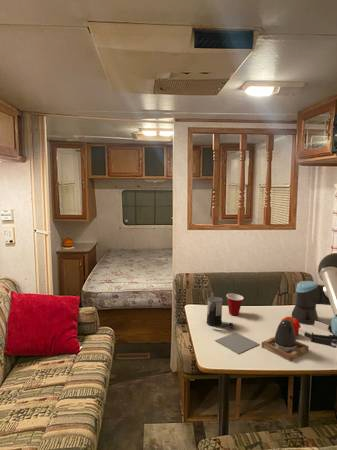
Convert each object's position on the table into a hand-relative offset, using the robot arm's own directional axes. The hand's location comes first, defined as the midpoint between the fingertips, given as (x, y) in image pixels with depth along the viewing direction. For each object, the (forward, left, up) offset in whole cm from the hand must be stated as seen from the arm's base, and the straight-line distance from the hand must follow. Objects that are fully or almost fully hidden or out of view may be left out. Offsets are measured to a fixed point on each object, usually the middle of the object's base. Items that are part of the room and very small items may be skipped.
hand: (307, 327), depth 147 cm
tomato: (-17, -19, -16) cm, 30 cm away
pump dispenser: (0, -11, -16) cm, 19 cm away
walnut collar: (0, -11, -16) cm, 19 cm away
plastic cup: (-12, -55, -16) cm, 59 cm away
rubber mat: (+15, -29, -16) cm, 36 cm away
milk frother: (+7, -49, -16) cm, 52 cm away
